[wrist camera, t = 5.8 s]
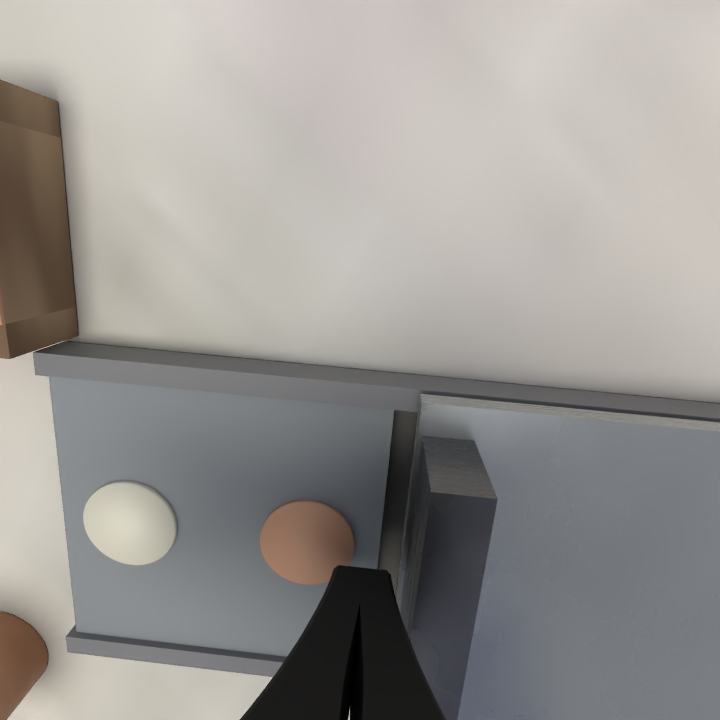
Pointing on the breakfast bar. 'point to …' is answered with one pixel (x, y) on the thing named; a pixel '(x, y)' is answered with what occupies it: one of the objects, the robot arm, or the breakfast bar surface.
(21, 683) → the peg
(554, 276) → the breakfast bar surface
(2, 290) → the socket board
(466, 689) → the cover
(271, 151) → the breakfast bar surface
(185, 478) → the pattern board
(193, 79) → the breakfast bar surface
